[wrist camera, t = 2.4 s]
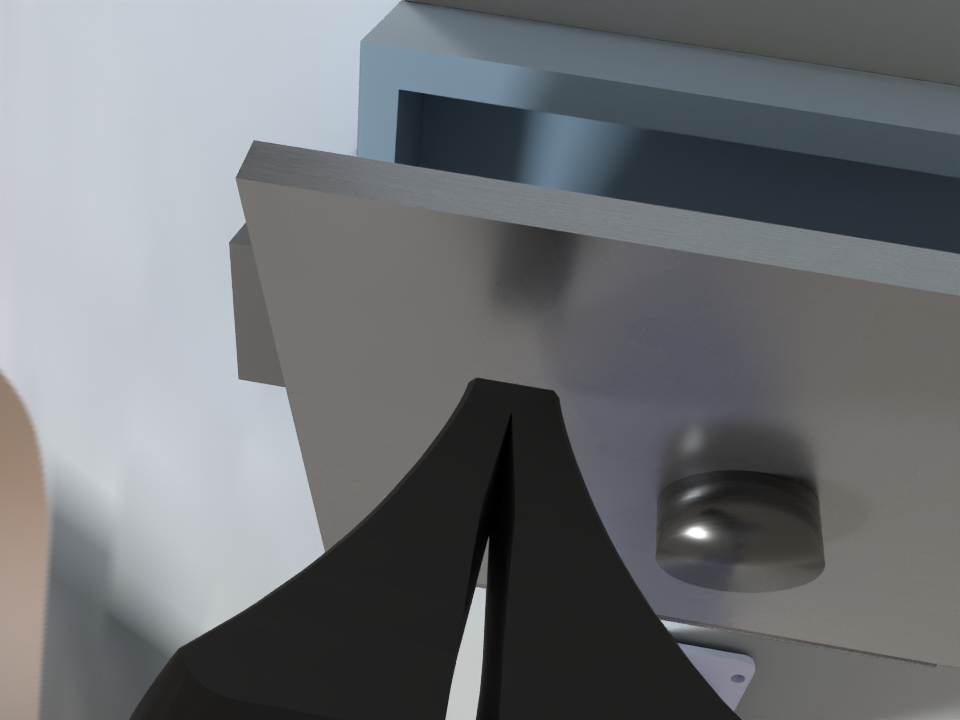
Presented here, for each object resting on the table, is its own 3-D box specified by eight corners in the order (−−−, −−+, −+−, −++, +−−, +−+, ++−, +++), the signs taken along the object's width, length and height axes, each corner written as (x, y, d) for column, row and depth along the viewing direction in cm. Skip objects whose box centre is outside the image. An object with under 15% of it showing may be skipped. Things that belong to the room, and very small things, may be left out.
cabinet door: (967, 650, 23) (980, 724, 22) (334, 538, 24) (316, 605, 23) (1584, 354, 11) (1687, 485, 10) (253, 140, 12) (205, 240, 10)
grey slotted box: (1008, 555, 26) (1066, 662, 23) (288, 431, 27) (245, 517, 24) (1314, 141, 18) (1472, 214, 15) (276, -19, 19) (209, 17, 16)
